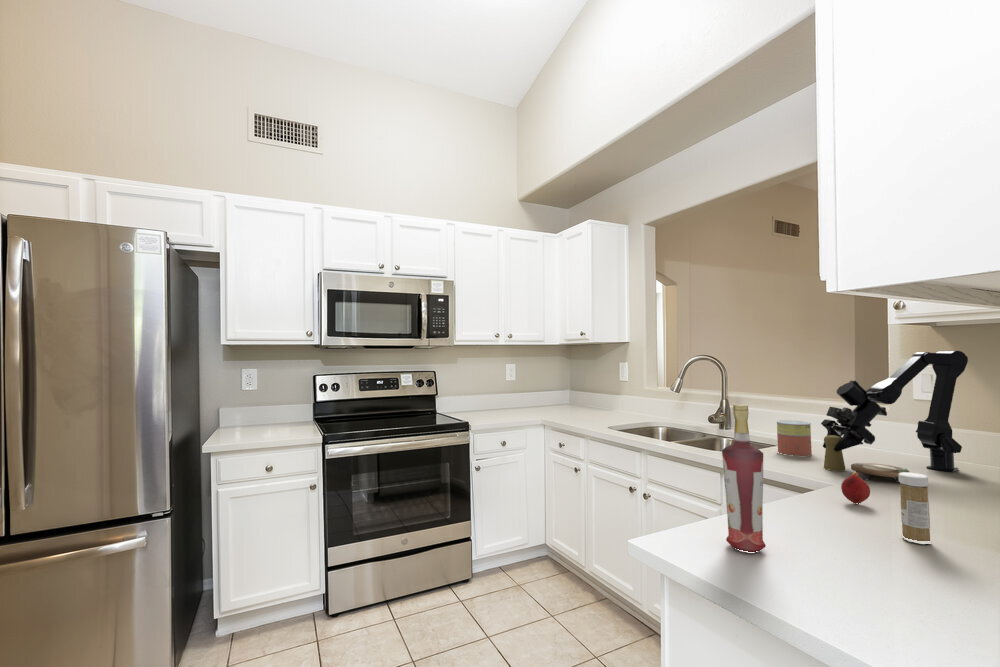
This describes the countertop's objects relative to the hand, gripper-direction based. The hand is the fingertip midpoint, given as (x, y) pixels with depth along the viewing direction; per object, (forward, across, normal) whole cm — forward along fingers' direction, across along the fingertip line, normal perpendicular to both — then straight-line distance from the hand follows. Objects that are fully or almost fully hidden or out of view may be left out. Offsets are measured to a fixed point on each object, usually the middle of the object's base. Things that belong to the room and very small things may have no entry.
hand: (829, 449), depth 156 cm
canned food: (+3, -26, +7) cm, 27 cm away
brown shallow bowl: (0, +12, +10) cm, 15 cm away
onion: (+17, +38, -8) cm, 43 cm away
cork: (+4, 0, +6) cm, 7 cm away
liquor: (+46, +68, -37) cm, 90 cm away
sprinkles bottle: (+21, +63, -11) cm, 67 cm away
